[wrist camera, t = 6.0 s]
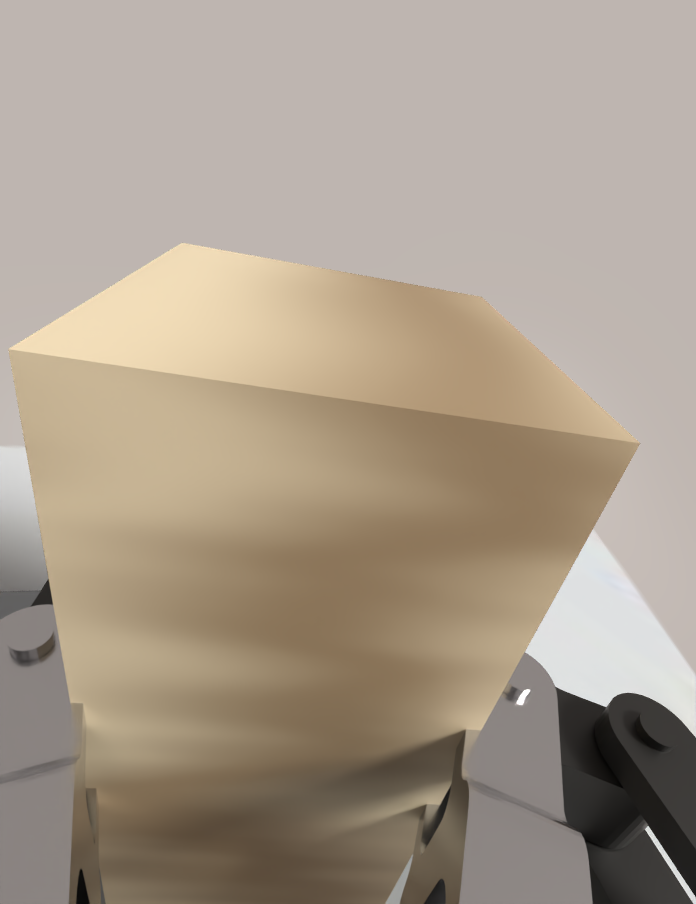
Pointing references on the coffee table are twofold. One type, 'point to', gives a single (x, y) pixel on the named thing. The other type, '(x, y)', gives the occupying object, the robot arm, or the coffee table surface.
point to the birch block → (293, 558)
